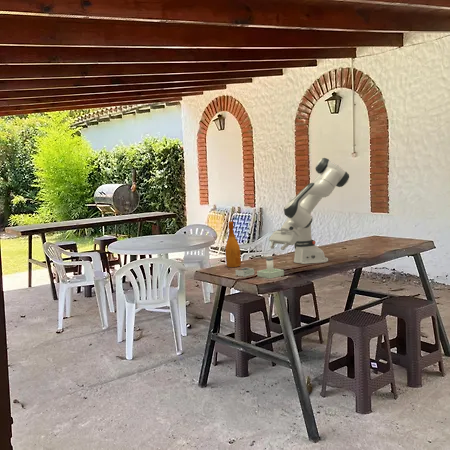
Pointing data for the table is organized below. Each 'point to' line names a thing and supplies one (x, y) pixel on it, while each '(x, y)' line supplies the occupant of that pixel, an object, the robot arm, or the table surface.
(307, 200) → the robot arm
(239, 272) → the housing
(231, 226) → the wine bottle
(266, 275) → the tray
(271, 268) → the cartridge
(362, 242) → the table surface
